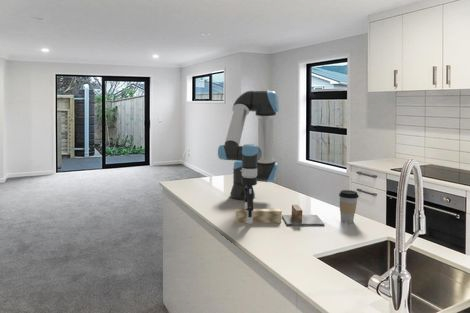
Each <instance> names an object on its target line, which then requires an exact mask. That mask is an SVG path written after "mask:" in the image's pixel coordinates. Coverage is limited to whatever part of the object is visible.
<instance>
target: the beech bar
mask: <svg viewBox="0 0 470 313" xmlns="http://www.w3.org/2000/svg"><path fill="white" fill-rule="evenodd" d="M282 215H283V214H282V210H281V208H254V209H253V223H254V224H255V223H257V224H258V223H260V224H261V223H263V224H265V223H270V224H274V223H279V224H281V223H282ZM235 221H236V222H235V223H238V224H239V223H241V224H243V223H245V224H247V210H246V209H244V208H235ZM253 223H252V224H253Z"/></svg>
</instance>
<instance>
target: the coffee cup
mask: <svg viewBox="0 0 470 313" xmlns="http://www.w3.org/2000/svg"><path fill="white" fill-rule="evenodd" d="M338 196H339V211H340V213H339V214H340V221H341V222H342V223H345V224H352V223H354V218H355V213H356V209H357V204H358V199H359V196H360V195H359V194H358V192H357V191H356V190H349V189H343V190H340V192H339V193H338Z"/></svg>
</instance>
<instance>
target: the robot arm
mask: <svg viewBox="0 0 470 313" xmlns="http://www.w3.org/2000/svg"><path fill="white" fill-rule="evenodd" d="M279 104H280V103H279V96H278V94H277V92H276V91H272V90H248V91H245V92H243V93H242V94H240V95H239V96H238V97H237V98H236V100H235V101H234V103H233V106H232V109H231V110H232V112H233V113H232V115H231V120H230V123H229V126H228V130H227V134H226V137H225V140H224V144H222V145H221V144H220V145H219V146H218V150H217V156H218V159H220V160H223V161H224V160H225V161H234V162H233V168H232V169H233V172H232V173H233V175H232V176H233V178H232V179H233V182H232V186H231V187H232V188H231V190H230V192H229V193H230V194H229V195H230V196H229V197H230V198H231V199H233V200H240V201H244V208H243V209H246V210H247V223H246V224H249V225H250V224H253V209H255V208H254V199H255V197H256V196H255V195H256V194H255V190H254V187H253V186H257V184H258V182H261V183H263V182H264V183H274V182H275V180H276V178H277V175H278V170H279V169H278V165H279V164H278V162H276V159H275V158H274V155H273V154H274V148H273V147H274V117H275V116H277V113H279V109H280V108H279ZM250 112H255V116H256V117H257V123H258V124H257V127H258V128H257V129H258V130H257V133H258V134H257V139H258V141H257V142H258V143H257V145H256V144H252V143H250V144H249V143H248V144H247V143H246V144H243V145H240V142H241V138H242V134H243V130H244V126H245V122H246V118H247V116H248V115H249V113H250Z"/></svg>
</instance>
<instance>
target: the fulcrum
mask: <svg viewBox="0 0 470 313" xmlns="http://www.w3.org/2000/svg"><path fill="white" fill-rule="evenodd" d="M281 219H283V221H284V223H285V224H286V226H287V227H299V226H301V227H302V226H303V227H309V226H311V227H313V226H314V227H315V226H316V225H321V226H322V225H323V227H324V226H325V223H324V221H323V220H321V218H320V217H319V216H318V215H317V214H303V209H302V208H301V207H300V205H299V204H292V205H291V214H282V215H281ZM321 226H320V227H321ZM316 227H317V226H316Z"/></svg>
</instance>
